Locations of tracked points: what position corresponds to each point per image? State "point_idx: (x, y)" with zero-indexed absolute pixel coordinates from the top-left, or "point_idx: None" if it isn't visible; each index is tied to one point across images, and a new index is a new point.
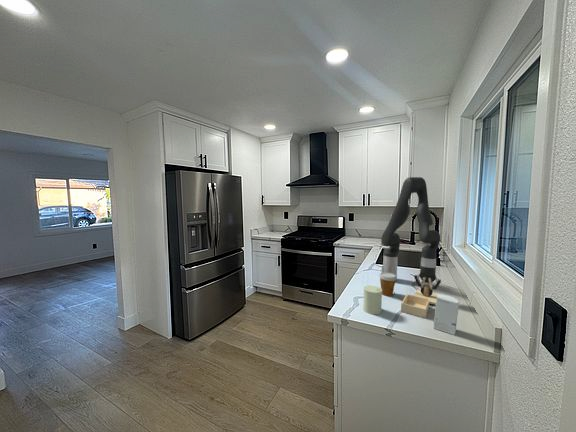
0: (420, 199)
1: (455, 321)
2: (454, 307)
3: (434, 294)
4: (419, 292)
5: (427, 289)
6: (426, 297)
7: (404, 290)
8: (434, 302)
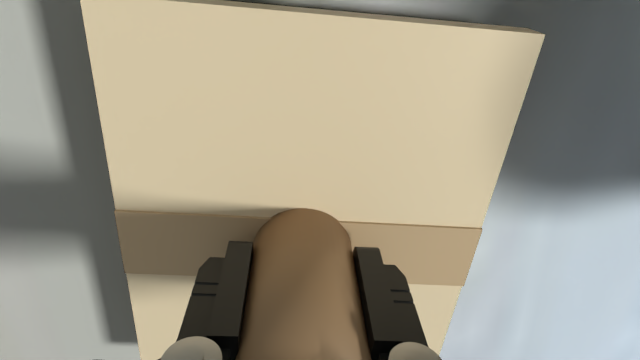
0: None
1: None
2: None
3: None
4: None
5: (283, 320)
6: (295, 180)
7: (563, 336)
8: (125, 7)
